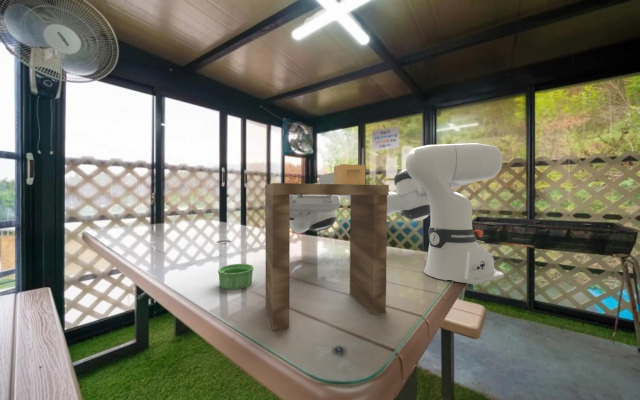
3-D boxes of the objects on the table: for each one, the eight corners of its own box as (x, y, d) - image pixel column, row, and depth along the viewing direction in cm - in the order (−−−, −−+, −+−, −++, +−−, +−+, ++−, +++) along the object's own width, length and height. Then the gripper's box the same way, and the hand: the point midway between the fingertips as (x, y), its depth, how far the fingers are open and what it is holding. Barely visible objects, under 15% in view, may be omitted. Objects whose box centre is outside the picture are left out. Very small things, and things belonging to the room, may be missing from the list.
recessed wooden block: (333, 187, 71) (333, 172, 71) (365, 184, 52) (365, 165, 52) (316, 187, 70) (316, 172, 70) (341, 184, 50) (341, 164, 50)
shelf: (359, 291, 63) (360, 186, 63) (387, 313, 52) (388, 185, 51) (265, 304, 56) (265, 185, 56) (273, 332, 45) (273, 183, 44)
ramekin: (223, 293, 62) (223, 275, 62) (214, 283, 70) (214, 267, 69) (258, 285, 68) (258, 269, 67) (246, 276, 75) (246, 261, 75)
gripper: (334, 218, 92) (348, 202, 80) (277, 218, 87) (283, 202, 74) (332, 202, 95) (345, 184, 83) (276, 201, 89) (282, 183, 77)
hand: (315, 193), depth 79 cm, fingers open, 8 cm apart
